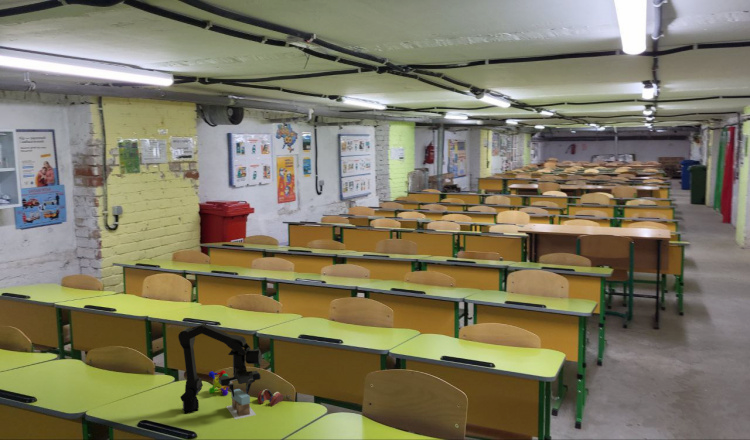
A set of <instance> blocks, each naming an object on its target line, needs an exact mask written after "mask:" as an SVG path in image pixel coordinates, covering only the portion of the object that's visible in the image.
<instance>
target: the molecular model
mask: <svg viewBox="0 0 750 440" xmlns="http://www.w3.org/2000/svg"><path fill="white" fill-rule="evenodd" d="M218 375H219V376H218ZM208 376H209V378H212V380H213V382H214V383H213V385H212V387H210V388H209V389H208V392H209V393H210V394H214V393H215V392H218V391H220V392H221V393H222V395H223V396H228V394H229V391H228V390H229V389H230V388H229V387H227V386H221V385H220V383H219V378H220V377H222V376H228V377H229V375H228V374H227V372H226V370H221V371H220V372H214V371H209V372H208ZM216 376H217V377H216ZM232 384H234V381H232Z"/></svg>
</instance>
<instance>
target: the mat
mask: <svg viewBox="0 0 750 440" xmlns="http://www.w3.org/2000/svg"><path fill="white" fill-rule="evenodd" d="M225 407H226V409H227V410H228V411H229V413H230V415H231V416H232V417H233V419H234V420H239V419H243V418H249V417H253V416H257V414H256V412H255V411H254V410H253V409H252V407H250V414H249V415H244V416H240V417H239V415H238V414H237V412H236V410H234V409H233V407H232V404H230V405H227V406H225Z"/></svg>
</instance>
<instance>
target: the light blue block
mask: <svg viewBox="0 0 750 440" xmlns="http://www.w3.org/2000/svg"><path fill="white" fill-rule="evenodd" d="M230 393H231V392H230ZM232 398H233V399H234V400H235V401H237V402H238V403H240V404H241V405H245V404H251V395H249V393H248V394H246V391H243V390H241V389H240V388H236V389H234V397H233V396H232V393H231V399H232Z"/></svg>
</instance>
